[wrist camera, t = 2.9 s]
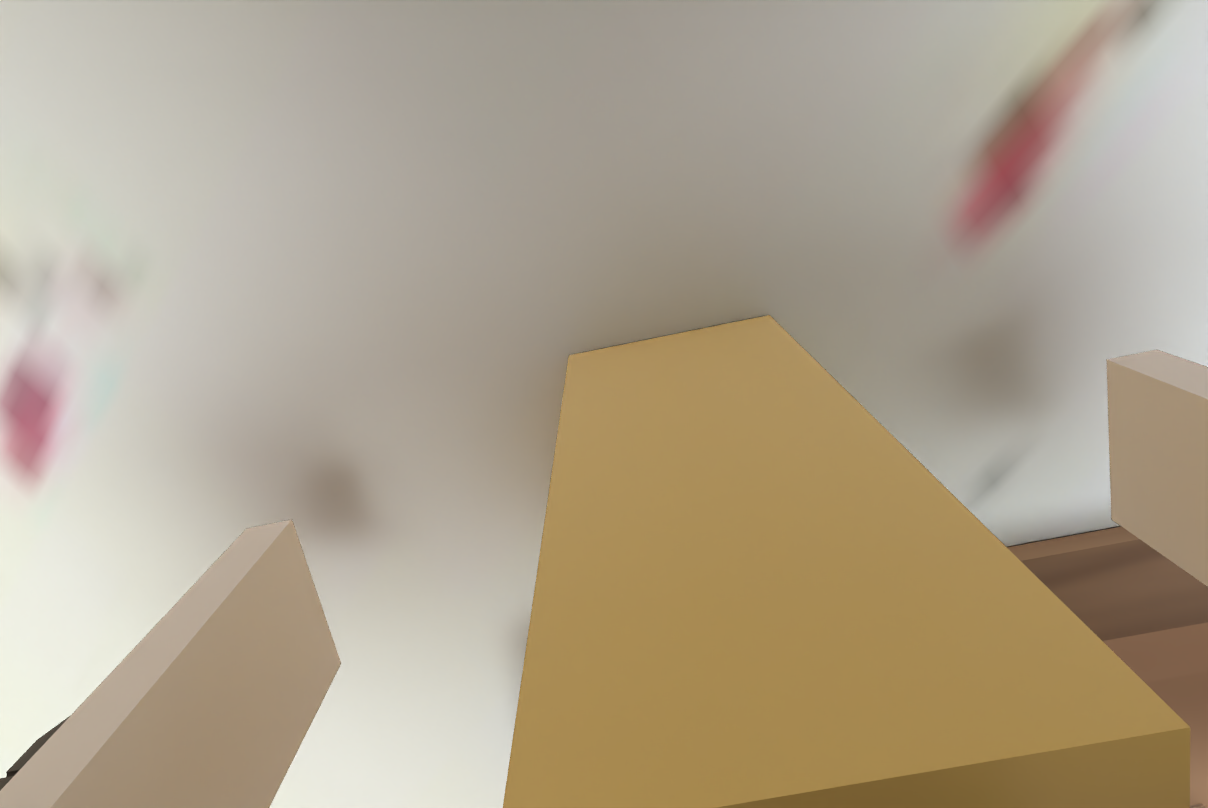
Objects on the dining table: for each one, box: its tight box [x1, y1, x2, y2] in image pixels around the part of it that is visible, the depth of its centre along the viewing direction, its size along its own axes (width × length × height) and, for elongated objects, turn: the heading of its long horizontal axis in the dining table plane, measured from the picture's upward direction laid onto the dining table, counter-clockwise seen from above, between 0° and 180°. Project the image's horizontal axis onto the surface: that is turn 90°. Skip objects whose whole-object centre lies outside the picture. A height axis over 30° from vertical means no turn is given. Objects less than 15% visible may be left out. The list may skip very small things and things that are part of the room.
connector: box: [503, 315, 1190, 808], centre depth 10 cm, size 4×4×14 cm
